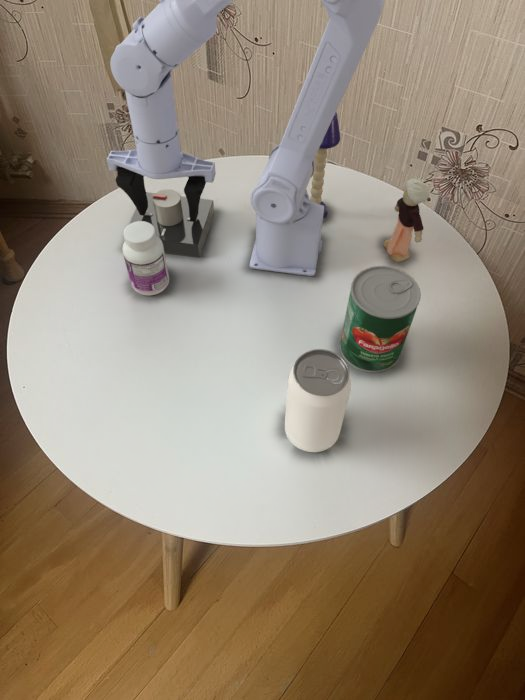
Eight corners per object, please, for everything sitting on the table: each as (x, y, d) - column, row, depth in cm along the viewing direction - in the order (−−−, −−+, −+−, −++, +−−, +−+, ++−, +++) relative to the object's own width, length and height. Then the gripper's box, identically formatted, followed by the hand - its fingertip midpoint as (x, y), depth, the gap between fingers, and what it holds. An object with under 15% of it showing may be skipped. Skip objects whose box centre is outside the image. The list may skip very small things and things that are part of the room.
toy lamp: (300, 201, 90) (308, 102, 76) (330, 202, 90) (343, 103, 76) (300, 221, 87) (308, 122, 74) (330, 222, 87) (344, 124, 74)
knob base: (214, 212, 88) (213, 199, 86) (199, 257, 82) (197, 244, 80) (146, 204, 89) (143, 190, 87) (126, 248, 83) (123, 234, 81)
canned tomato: (359, 381, 70) (374, 326, 61) (328, 336, 74) (338, 277, 65) (412, 359, 72) (434, 303, 63) (379, 316, 76) (396, 257, 67)
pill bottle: (132, 270, 81) (119, 217, 73) (169, 267, 81) (160, 215, 73) (130, 298, 78) (116, 246, 70) (169, 296, 78) (159, 244, 70)
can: (336, 458, 64) (350, 404, 54) (279, 448, 65) (283, 392, 55) (342, 410, 68) (357, 351, 58) (289, 400, 68) (294, 340, 59)
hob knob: (186, 209, 85) (183, 189, 82) (179, 227, 82) (176, 207, 79) (160, 206, 85) (156, 185, 82) (152, 224, 83) (148, 203, 80)
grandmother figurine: (372, 241, 85) (388, 169, 74) (393, 233, 86) (412, 161, 75) (402, 274, 81) (423, 204, 70) (424, 266, 82) (447, 195, 71)
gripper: (218, 119, 74) (223, 202, 85) (111, 108, 75) (130, 191, 86) (205, 151, 70) (212, 234, 81) (93, 138, 71) (115, 221, 82)
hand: (169, 214), depth 83 cm, fingers open, 7 cm apart
